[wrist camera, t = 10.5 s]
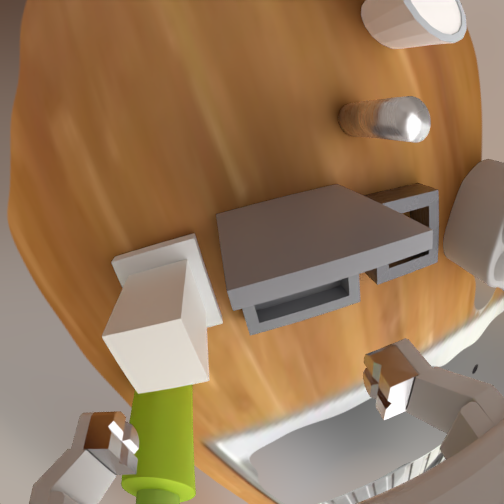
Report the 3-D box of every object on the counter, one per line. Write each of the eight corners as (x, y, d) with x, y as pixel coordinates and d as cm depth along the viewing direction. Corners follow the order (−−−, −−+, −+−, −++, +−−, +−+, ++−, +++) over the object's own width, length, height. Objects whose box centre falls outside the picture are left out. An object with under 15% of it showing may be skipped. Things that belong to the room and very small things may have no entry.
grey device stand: (216, 214, 23) (226, 291, 12) (337, 183, 24) (432, 229, 13) (246, 318, 27) (272, 425, 16) (348, 288, 28) (417, 371, 17)
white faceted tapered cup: (349, -17, 17) (390, -49, 10) (412, 1, 18) (458, -17, 11) (358, 47, 19) (406, 27, 13) (421, 62, 20) (473, 53, 14)
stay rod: (335, 104, 21) (391, 97, 14) (365, 101, 21) (426, 95, 14) (341, 138, 22) (399, 144, 15) (371, 134, 22) (433, 140, 15)
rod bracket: (355, 197, 24) (372, 206, 22) (418, 183, 25) (438, 189, 22) (362, 269, 27) (377, 284, 24) (419, 250, 27) (437, 262, 25)
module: (128, 275, 23) (101, 336, 15) (187, 259, 23) (180, 318, 16) (152, 327, 25) (139, 395, 17) (207, 313, 25) (210, 382, 18)
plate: (115, 256, 23) (111, 262, 22) (194, 232, 23) (194, 238, 22) (149, 333, 26) (148, 341, 25) (221, 315, 27) (222, 323, 26)
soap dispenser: (134, 398, 29) (118, 563, 11) (140, 356, 27) (114, 553, 9) (185, 408, 31) (192, 572, 12) (197, 369, 29) (210, 564, 10)
